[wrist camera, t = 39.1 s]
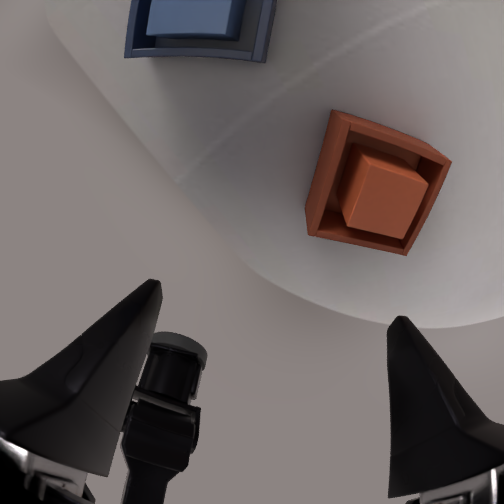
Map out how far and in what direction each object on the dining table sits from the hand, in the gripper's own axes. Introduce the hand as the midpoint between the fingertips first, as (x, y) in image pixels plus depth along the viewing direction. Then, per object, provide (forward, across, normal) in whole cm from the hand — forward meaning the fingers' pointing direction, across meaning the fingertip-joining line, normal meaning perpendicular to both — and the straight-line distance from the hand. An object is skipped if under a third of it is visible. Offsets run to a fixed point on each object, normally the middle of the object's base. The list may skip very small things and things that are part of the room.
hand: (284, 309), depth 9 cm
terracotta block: (+11, -6, -2) cm, 12 cm away
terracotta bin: (+11, -6, -2) cm, 13 cm away
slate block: (+11, +6, -11) cm, 17 cm away
